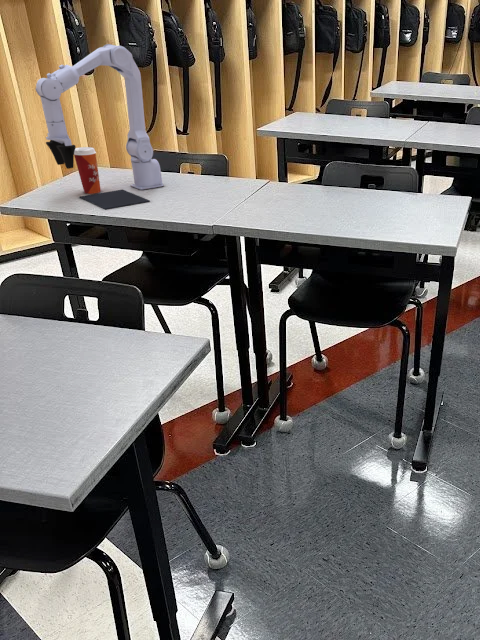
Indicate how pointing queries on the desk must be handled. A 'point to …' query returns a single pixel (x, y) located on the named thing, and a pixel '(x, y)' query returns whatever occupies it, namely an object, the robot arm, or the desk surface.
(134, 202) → the desk mat
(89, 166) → the paper cup
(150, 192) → the desk surface
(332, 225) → the desk surface
